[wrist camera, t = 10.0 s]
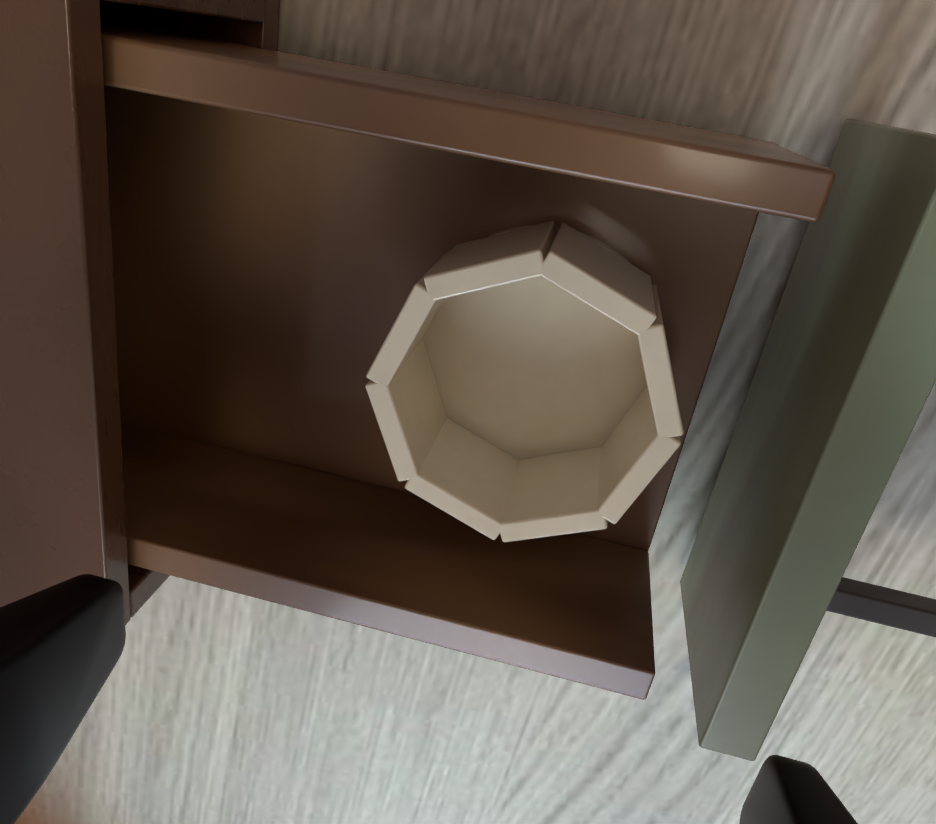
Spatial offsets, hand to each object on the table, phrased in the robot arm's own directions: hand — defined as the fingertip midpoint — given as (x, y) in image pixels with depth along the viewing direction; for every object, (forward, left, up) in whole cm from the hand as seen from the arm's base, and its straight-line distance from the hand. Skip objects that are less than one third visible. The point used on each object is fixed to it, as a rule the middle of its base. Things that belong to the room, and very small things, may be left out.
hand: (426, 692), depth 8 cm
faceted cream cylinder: (0, 0, -11) cm, 11 cm away
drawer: (0, 0, -12) cm, 12 cm away
